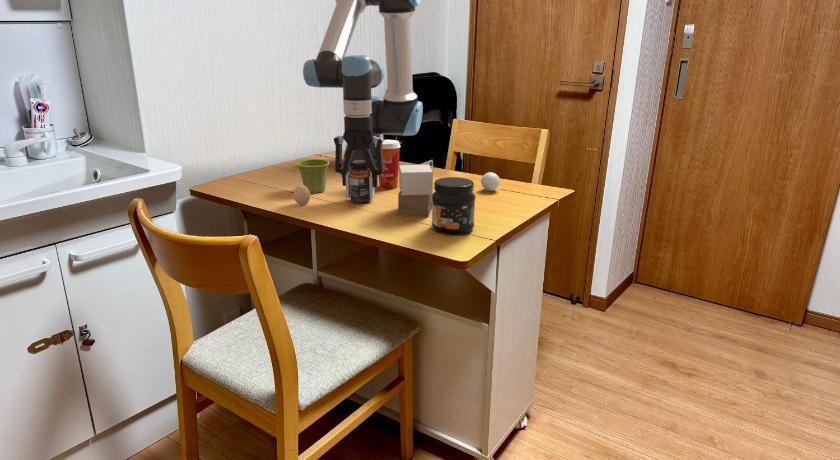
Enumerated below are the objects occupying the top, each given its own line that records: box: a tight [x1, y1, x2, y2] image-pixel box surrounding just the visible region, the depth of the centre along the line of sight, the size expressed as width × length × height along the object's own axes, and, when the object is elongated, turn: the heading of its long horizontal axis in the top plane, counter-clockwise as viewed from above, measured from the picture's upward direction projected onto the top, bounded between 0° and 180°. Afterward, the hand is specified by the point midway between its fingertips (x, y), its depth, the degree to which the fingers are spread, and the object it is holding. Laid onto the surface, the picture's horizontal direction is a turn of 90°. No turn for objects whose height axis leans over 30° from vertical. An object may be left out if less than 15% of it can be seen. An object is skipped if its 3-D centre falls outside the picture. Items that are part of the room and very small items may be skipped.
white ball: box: [480, 171, 501, 192], centre depth 173 cm, size 8×6×6 cm
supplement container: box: [431, 176, 476, 236], centre depth 140 cm, size 10×10×12 cm
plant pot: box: [296, 158, 330, 194], centre depth 172 cm, size 9×9×9 cm
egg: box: [293, 184, 311, 206], centre depth 159 cm, size 4×4×6 cm
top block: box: [398, 164, 434, 195], centre depth 152 cm, size 8×8×6 cm
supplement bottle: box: [348, 160, 372, 204], centre depth 162 cm, size 6×6×11 cm
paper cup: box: [375, 139, 401, 190], centre depth 175 cm, size 8×8×14 cm
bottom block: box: [397, 190, 433, 218], centre depth 154 cm, size 8×8×6 cm
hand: (360, 197), depth 163 cm, fingers closed on supplement bottle, 6 cm apart
